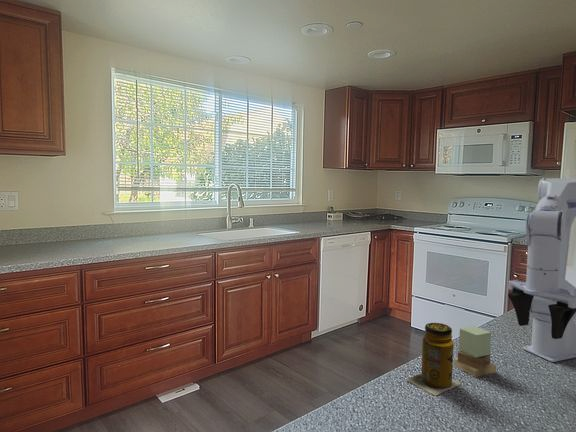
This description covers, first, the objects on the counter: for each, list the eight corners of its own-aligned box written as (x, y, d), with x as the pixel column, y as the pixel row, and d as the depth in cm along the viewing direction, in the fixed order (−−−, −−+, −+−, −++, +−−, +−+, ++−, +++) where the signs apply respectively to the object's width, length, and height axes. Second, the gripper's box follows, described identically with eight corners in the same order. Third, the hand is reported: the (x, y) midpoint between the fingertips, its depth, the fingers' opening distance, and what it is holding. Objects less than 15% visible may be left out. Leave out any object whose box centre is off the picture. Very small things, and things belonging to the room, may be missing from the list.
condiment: (461, 384, 81) (463, 328, 80) (435, 396, 76) (437, 337, 75) (431, 370, 87) (432, 318, 86) (405, 380, 83) (407, 325, 82)
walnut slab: (467, 355, 91) (468, 346, 91) (490, 362, 87) (490, 353, 87) (457, 361, 88) (457, 352, 88) (480, 369, 84) (480, 359, 84)
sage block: (473, 346, 91) (474, 325, 90) (490, 354, 87) (491, 332, 86) (459, 350, 89) (459, 328, 89) (475, 357, 85) (476, 335, 84)
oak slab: (474, 363, 92) (474, 354, 92) (495, 375, 86) (496, 365, 86) (454, 367, 90) (454, 358, 90) (474, 379, 84) (474, 370, 84)
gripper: (499, 262, 87) (496, 321, 88) (563, 277, 73) (559, 347, 74) (522, 260, 89) (519, 318, 90) (589, 274, 76) (585, 342, 77)
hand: (539, 331), depth 82 cm, fingers open, 7 cm apart
